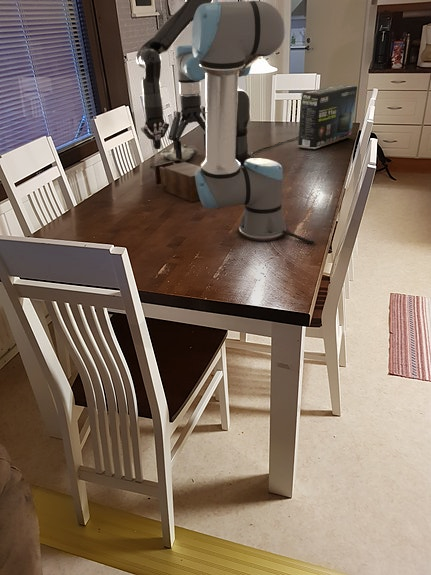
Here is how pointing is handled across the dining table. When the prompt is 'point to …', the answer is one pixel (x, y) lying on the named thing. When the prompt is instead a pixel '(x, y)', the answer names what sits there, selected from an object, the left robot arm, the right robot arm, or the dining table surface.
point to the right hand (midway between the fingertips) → (193, 155)
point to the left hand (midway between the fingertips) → (157, 148)
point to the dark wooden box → (182, 180)
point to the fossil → (186, 153)
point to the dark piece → (160, 171)
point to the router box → (326, 115)
